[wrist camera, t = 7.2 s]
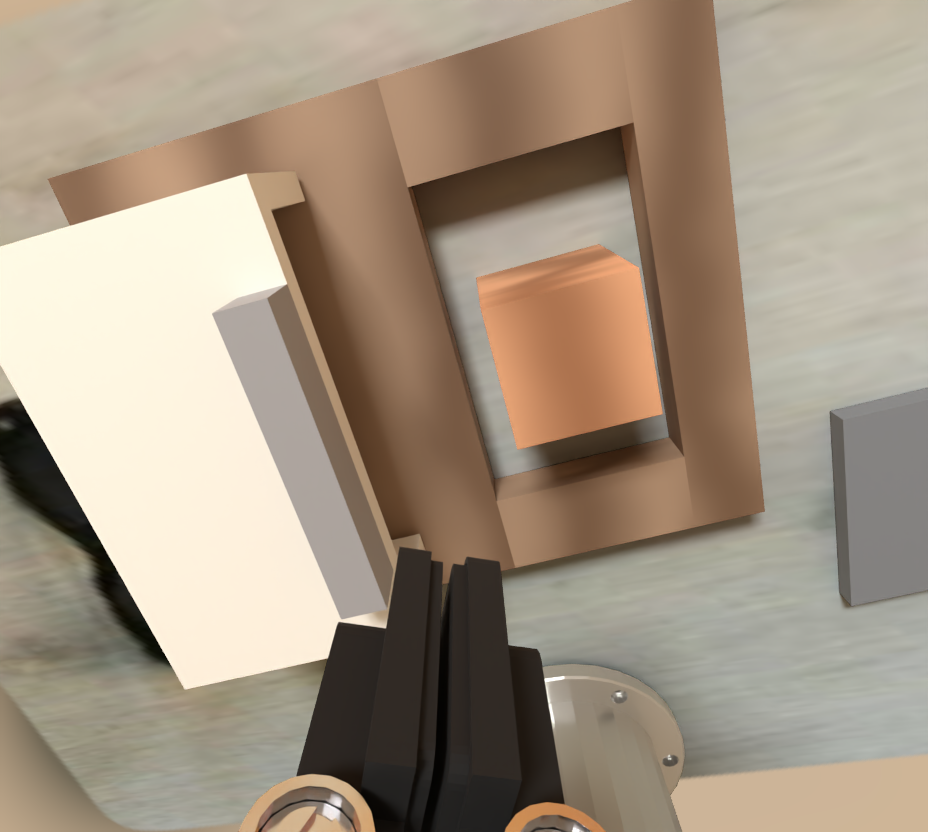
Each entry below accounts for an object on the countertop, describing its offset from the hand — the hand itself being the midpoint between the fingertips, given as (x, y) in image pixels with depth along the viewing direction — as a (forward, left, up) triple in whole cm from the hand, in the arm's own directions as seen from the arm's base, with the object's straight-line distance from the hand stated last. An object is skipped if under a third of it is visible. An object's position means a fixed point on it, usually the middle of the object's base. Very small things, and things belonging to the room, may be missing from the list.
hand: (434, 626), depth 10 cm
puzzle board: (0, 0, -17) cm, 17 cm away
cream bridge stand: (-5, +6, -15) cm, 17 cm away
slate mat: (+4, -23, -17) cm, 29 cm away
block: (+3, -3, -17) cm, 18 cm away
